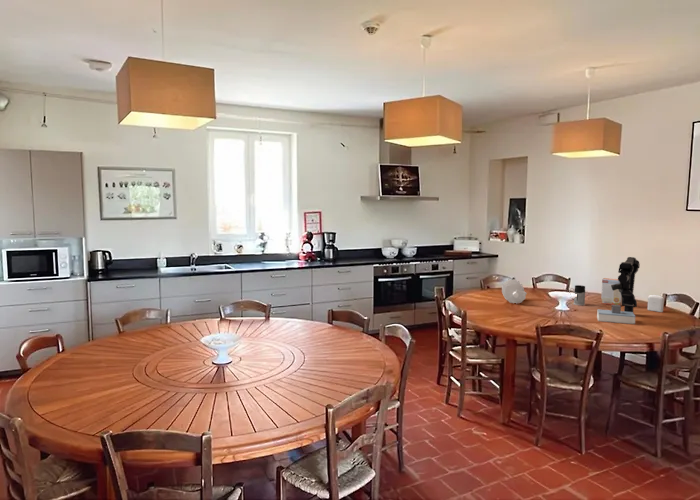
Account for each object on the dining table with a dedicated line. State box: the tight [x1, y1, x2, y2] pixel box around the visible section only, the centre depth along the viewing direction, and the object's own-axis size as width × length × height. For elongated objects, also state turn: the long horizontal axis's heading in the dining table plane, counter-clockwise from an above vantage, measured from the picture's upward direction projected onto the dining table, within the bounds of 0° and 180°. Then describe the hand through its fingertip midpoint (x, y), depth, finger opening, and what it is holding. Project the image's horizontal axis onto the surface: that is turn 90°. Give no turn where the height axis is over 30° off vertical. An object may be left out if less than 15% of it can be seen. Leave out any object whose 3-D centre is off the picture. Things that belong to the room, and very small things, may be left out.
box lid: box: [596, 308, 636, 318], centre depth 321 cm, size 12×22×1 cm, turn 66°
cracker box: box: [600, 277, 622, 307], centre depth 370 cm, size 14×6×21 cm, turn 50°
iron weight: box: [611, 305, 622, 314], centre depth 321 cm, size 5×5×5 cm
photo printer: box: [647, 294, 665, 313], centre depth 349 cm, size 10×4×12 cm, turn 39°
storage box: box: [596, 310, 636, 325], centre depth 322 cm, size 12×22×5 cm, turn 66°
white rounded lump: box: [501, 278, 528, 304], centre depth 383 cm, size 18×18×25 cm
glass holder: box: [568, 284, 586, 306], centre depth 371 cm, size 9×14×15 cm, turn 104°
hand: (624, 302), depth 323 cm, fingers open, 9 cm apart
